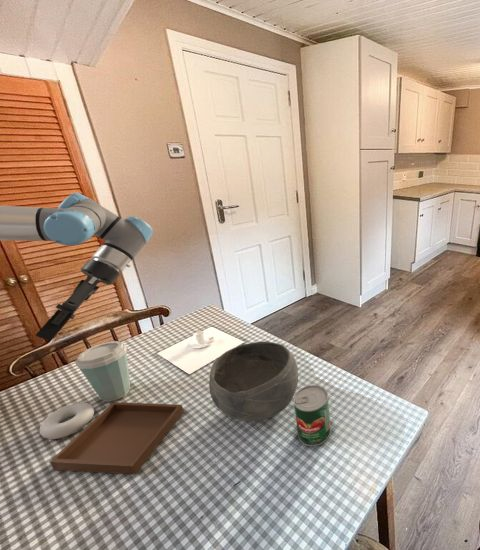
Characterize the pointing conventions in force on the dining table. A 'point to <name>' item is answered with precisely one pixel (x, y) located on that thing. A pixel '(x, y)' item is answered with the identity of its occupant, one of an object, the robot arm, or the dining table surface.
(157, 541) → the dining table surface
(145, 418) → the tray
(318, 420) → the canned tomato
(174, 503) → the dining table surface
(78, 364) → the disposable coffee cup
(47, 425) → the donut
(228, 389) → the bowl
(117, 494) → the dining table surface
